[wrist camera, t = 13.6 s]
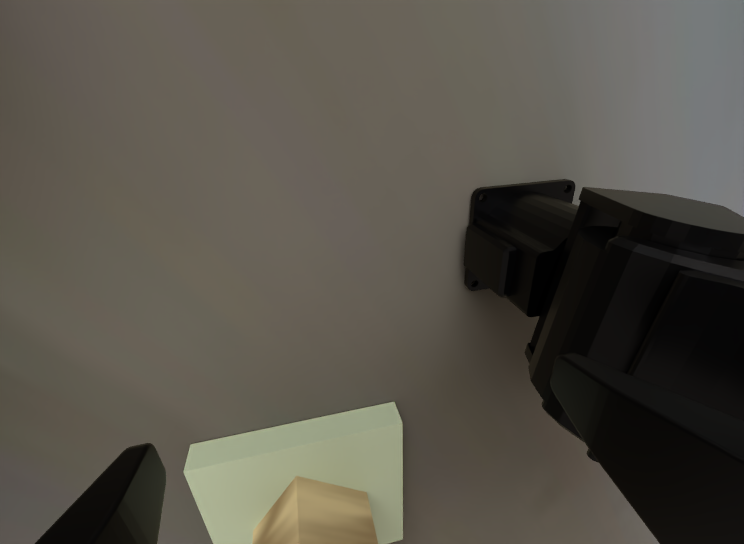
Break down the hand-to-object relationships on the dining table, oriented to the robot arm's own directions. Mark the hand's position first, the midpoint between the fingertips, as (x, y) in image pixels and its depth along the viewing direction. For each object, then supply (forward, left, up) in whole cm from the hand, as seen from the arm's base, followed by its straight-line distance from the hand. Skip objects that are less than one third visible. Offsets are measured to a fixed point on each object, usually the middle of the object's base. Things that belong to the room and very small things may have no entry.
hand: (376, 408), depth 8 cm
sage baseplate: (+3, +21, -13) cm, 25 cm away
